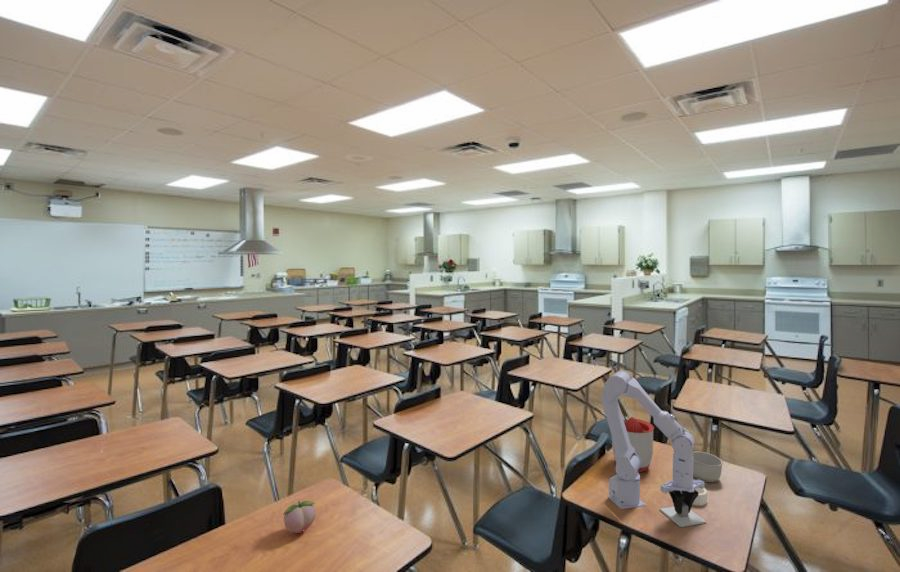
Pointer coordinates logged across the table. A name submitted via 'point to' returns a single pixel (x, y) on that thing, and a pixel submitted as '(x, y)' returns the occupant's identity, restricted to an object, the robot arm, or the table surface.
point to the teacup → (706, 466)
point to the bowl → (700, 497)
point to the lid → (683, 516)
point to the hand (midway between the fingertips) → (682, 511)
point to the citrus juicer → (640, 440)
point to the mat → (684, 526)
